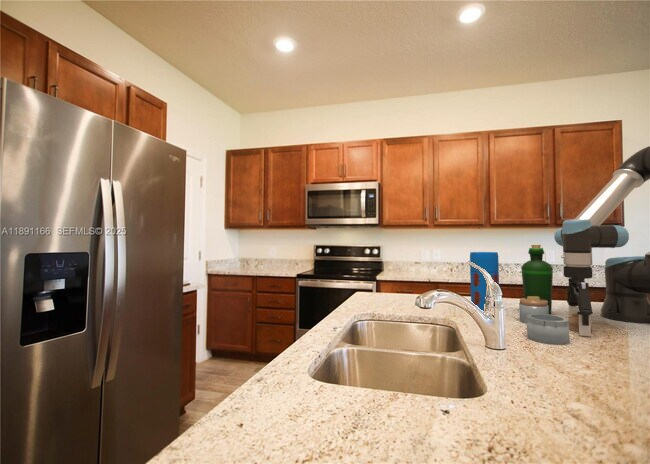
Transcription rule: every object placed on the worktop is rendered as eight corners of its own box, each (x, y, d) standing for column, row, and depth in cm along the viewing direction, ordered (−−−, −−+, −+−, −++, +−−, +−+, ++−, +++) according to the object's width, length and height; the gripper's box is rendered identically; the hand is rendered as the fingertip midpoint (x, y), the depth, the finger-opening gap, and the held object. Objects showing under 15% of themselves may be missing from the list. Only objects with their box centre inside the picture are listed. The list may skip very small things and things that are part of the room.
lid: (588, 329, 107) (588, 313, 107) (594, 334, 101) (593, 317, 102) (566, 327, 109) (566, 311, 110) (570, 332, 104) (570, 315, 104)
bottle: (553, 313, 130) (551, 244, 131) (555, 319, 121) (553, 245, 122) (522, 310, 136) (520, 244, 136) (522, 315, 127) (520, 245, 127)
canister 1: (540, 319, 121) (539, 294, 121) (554, 325, 112) (553, 299, 112) (515, 318, 122) (514, 294, 122) (527, 324, 113) (526, 298, 113)
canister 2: (565, 336, 99) (564, 315, 100) (573, 346, 90) (572, 323, 90) (525, 332, 104) (524, 312, 104) (529, 341, 95) (528, 319, 95)
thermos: (488, 315, 128) (486, 253, 128) (465, 310, 137) (464, 252, 138) (505, 312, 133) (503, 252, 133) (482, 307, 142) (480, 251, 143)
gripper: (556, 263, 119) (557, 320, 118) (572, 268, 97) (574, 339, 96) (581, 263, 115) (583, 322, 115) (604, 269, 93) (606, 342, 93)
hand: (579, 330), depth 105 cm, fingers open, 13 cm apart
